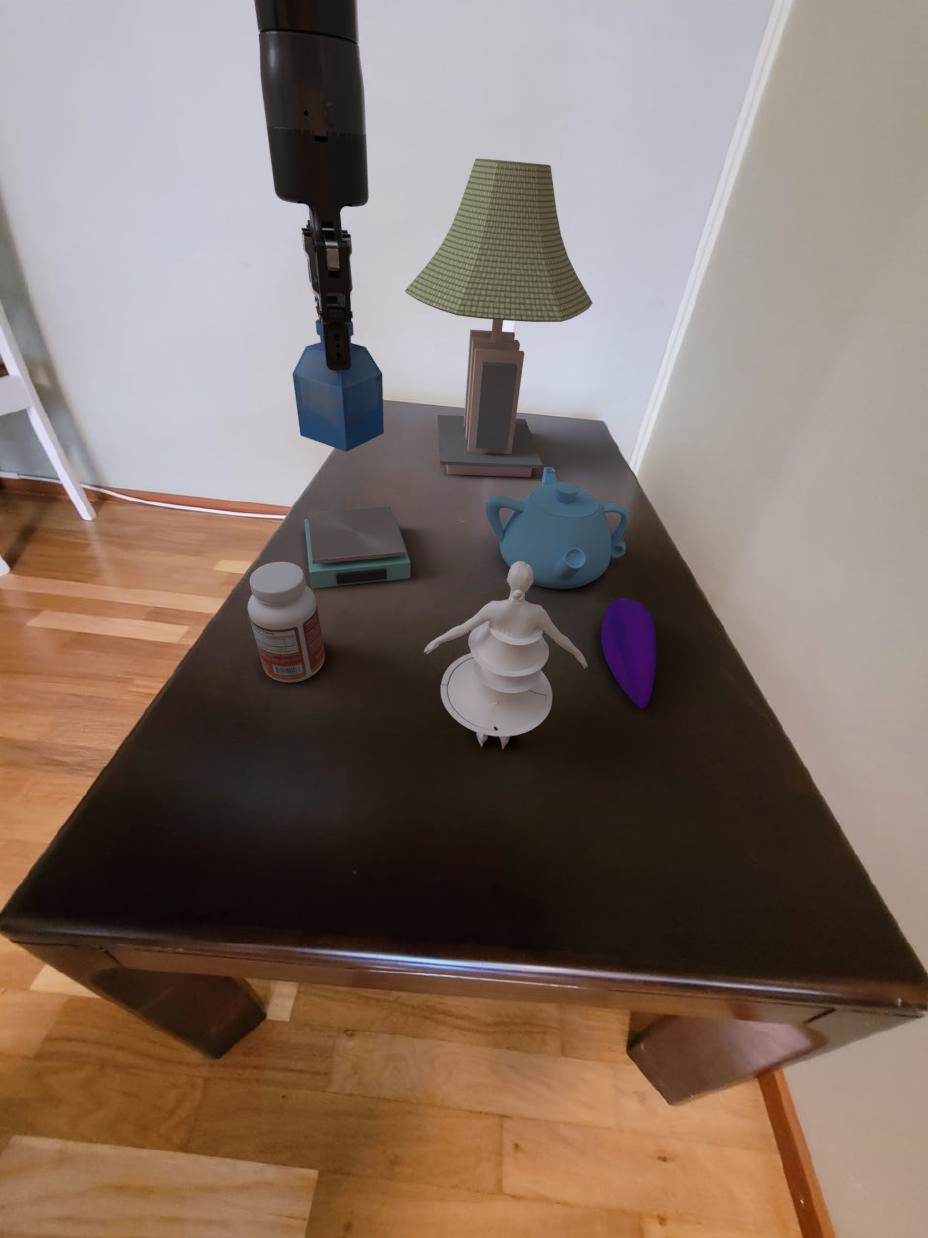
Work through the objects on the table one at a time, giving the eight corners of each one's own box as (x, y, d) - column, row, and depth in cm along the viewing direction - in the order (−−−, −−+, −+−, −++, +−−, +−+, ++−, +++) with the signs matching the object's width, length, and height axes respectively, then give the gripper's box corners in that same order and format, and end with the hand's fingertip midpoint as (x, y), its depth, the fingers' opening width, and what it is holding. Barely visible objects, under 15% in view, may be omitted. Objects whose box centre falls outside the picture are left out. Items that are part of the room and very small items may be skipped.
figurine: (559, 701, 54) (607, 528, 41) (567, 786, 47) (629, 609, 33) (428, 689, 54) (434, 512, 41) (415, 772, 47) (418, 590, 33)
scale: (311, 590, 64) (308, 569, 62) (306, 535, 73) (303, 514, 71) (411, 580, 67) (411, 559, 65) (394, 528, 76) (394, 508, 74)
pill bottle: (305, 633, 59) (290, 548, 51) (337, 665, 55) (326, 579, 48) (251, 660, 55) (227, 572, 48) (282, 695, 52) (262, 607, 45)
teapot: (464, 566, 70) (471, 487, 63) (537, 518, 81) (550, 446, 73) (564, 621, 63) (585, 539, 56) (630, 561, 74) (655, 486, 66)
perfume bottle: (383, 433, 59) (380, 308, 51) (346, 451, 55) (336, 319, 47) (339, 418, 61) (330, 296, 53) (300, 435, 57) (283, 306, 49)
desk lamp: (407, 423, 105) (406, 151, 79) (549, 429, 107) (595, 167, 81) (403, 485, 86) (401, 152, 59) (577, 491, 88) (649, 174, 62)
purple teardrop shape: (626, 691, 50) (603, 581, 60) (612, 720, 54) (593, 612, 64) (677, 695, 50) (646, 584, 60) (660, 723, 54) (633, 614, 64)
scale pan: (312, 564, 63) (312, 560, 63) (307, 516, 71) (307, 512, 70) (405, 555, 66) (405, 551, 65) (391, 510, 73) (390, 506, 73)
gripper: (266, 121, 46) (294, 338, 57) (264, 118, 36) (298, 384, 47) (355, 130, 48) (365, 338, 59) (378, 129, 37) (385, 382, 48)
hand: (336, 358), depth 53 cm, fingers closed on perfume bottle, 5 cm apart
